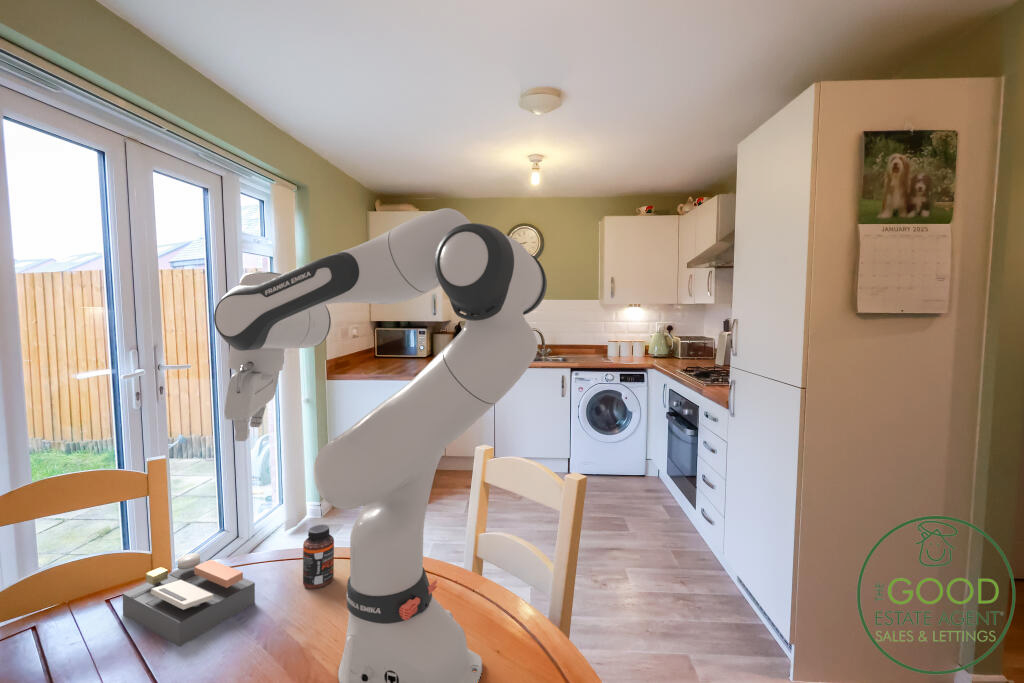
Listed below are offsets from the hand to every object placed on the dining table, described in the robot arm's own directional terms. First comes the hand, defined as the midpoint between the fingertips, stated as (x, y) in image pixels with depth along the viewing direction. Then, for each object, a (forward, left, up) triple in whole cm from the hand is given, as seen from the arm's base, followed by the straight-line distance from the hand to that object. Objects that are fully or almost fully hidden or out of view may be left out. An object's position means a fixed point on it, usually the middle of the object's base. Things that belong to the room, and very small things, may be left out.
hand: (249, 432), depth 82 cm
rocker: (+6, +8, -28) cm, 30 cm away
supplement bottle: (-4, -12, -34) cm, 36 cm away
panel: (+10, +5, -33) cm, 35 cm away
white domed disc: (+16, +2, -28) cm, 32 cm away
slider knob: (+16, +8, -29) cm, 34 cm away
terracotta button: (+6, +2, -28) cm, 29 cm away
